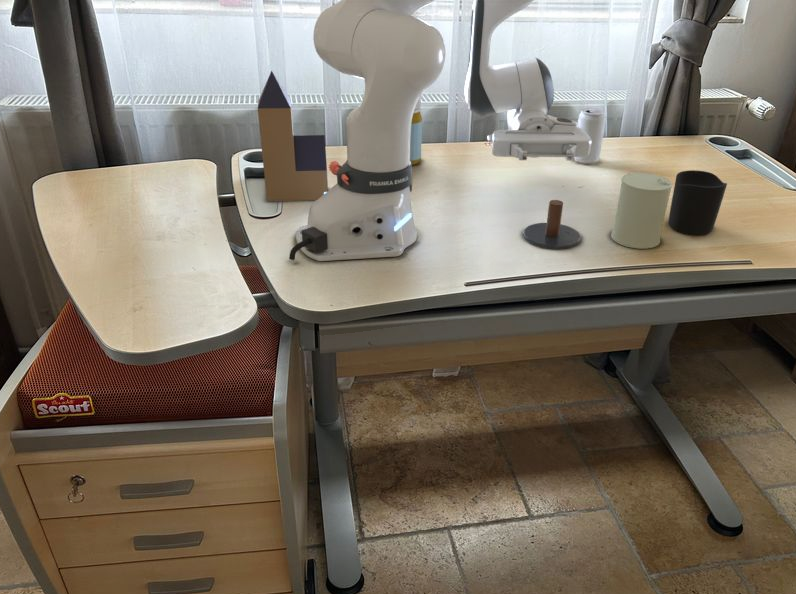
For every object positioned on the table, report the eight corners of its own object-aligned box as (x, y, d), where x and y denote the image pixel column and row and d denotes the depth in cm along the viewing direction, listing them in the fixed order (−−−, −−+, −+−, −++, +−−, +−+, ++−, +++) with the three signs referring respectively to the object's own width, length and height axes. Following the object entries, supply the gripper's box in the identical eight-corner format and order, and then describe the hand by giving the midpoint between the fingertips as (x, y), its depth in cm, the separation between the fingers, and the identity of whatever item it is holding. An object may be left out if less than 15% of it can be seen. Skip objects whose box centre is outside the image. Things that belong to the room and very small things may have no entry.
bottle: (425, 164, 169) (426, 99, 161) (397, 167, 167) (397, 101, 159) (414, 155, 175) (416, 91, 166) (387, 157, 172) (387, 93, 164)
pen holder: (719, 224, 145) (732, 176, 139) (708, 240, 138) (721, 191, 133) (672, 214, 149) (683, 167, 143) (660, 229, 142) (670, 180, 136)
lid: (541, 252, 131) (545, 216, 128) (513, 229, 140) (516, 195, 136) (591, 244, 135) (597, 209, 131) (561, 222, 143) (565, 188, 139)
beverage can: (568, 157, 177) (574, 107, 170) (591, 155, 179) (599, 106, 172) (580, 165, 172) (587, 115, 165) (603, 164, 174) (612, 113, 167)
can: (661, 251, 133) (675, 189, 127) (610, 245, 135) (622, 184, 128) (658, 231, 141) (671, 172, 134) (610, 226, 142) (621, 167, 136)
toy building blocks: (267, 201, 147) (254, 74, 134) (269, 170, 163) (257, 53, 149) (328, 199, 149) (321, 74, 136) (324, 168, 165) (318, 53, 151)
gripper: (487, 119, 150) (495, 140, 139) (583, 120, 152) (599, 141, 140) (485, 149, 154) (493, 172, 142) (579, 150, 155) (595, 172, 144)
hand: (547, 156), depth 141 cm, fingers open, 8 cm apart
